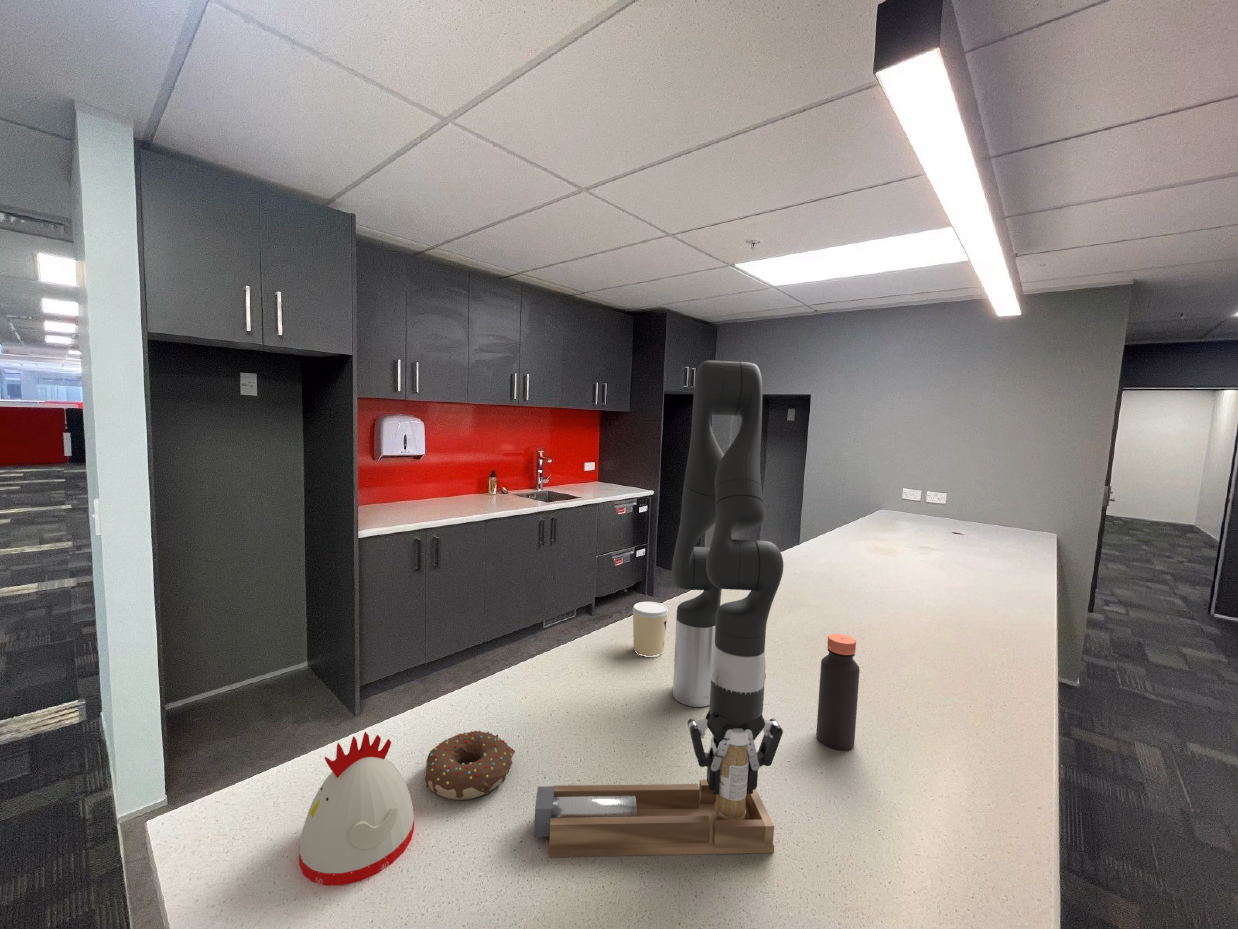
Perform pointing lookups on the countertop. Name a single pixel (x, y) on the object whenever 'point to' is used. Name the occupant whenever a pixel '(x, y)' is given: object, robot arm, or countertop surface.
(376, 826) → the kitchen timer
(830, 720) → the vinegar
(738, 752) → the sprinkles bottle
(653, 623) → the coffee cup
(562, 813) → the shaft
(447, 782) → the donut
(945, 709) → the countertop surface
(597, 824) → the tray
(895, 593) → the countertop surface
